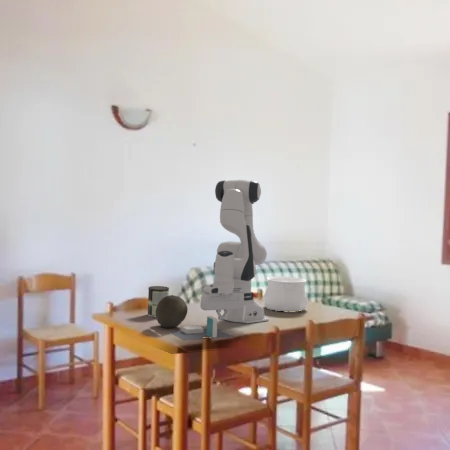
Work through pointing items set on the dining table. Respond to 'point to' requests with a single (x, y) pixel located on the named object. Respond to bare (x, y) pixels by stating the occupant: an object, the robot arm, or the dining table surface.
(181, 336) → the mat
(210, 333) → the tile
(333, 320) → the dining table surface
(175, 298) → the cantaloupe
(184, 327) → the tile
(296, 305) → the pot
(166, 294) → the coffee can
